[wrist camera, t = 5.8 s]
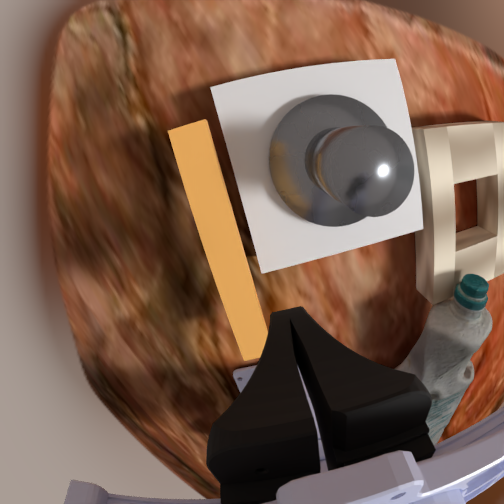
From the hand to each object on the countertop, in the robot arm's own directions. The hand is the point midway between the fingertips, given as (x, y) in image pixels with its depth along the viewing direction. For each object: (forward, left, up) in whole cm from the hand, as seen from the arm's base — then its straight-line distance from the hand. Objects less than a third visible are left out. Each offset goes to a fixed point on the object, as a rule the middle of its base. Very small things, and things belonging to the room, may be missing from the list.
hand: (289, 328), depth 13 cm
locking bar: (+2, +2, -6) cm, 7 cm away
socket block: (+5, -5, -10) cm, 13 cm away
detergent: (-18, -13, -10) cm, 24 cm away
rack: (-1, -17, -10) cm, 20 cm away
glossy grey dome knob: (+5, -5, -11) cm, 13 cm away
